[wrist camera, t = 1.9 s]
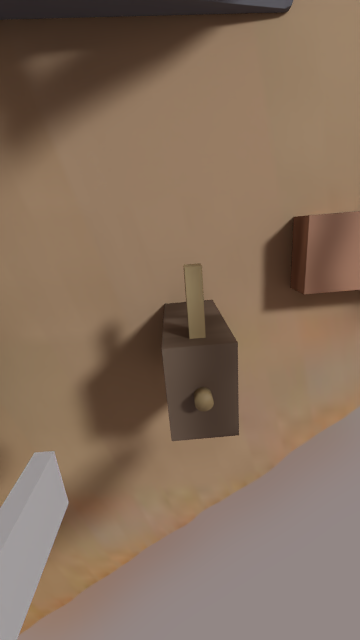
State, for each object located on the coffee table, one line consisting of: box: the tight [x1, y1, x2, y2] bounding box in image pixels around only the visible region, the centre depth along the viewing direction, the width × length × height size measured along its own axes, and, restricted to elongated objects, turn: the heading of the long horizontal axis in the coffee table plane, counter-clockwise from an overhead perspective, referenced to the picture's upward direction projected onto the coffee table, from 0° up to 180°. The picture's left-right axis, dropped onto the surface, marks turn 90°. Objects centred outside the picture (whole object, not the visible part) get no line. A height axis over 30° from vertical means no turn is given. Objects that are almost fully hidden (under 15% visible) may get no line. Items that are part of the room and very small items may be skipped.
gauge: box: [162, 264, 239, 441], centre depth 19 cm, size 4×10×10 cm, turn 5°
